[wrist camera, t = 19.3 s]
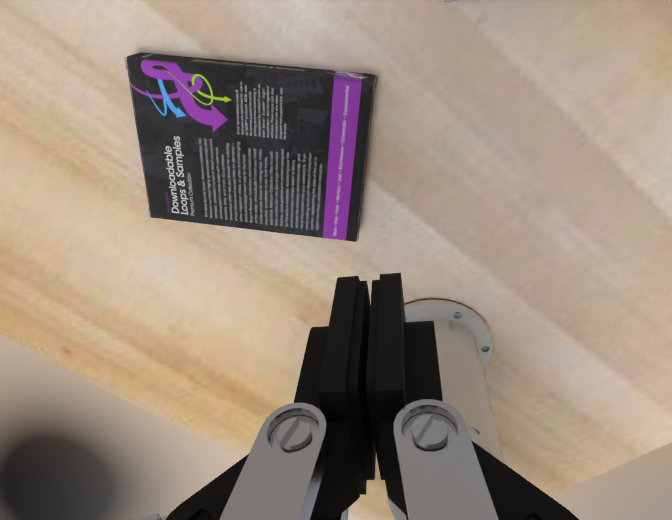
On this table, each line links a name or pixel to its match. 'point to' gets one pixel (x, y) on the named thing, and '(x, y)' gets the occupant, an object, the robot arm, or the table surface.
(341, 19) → the table surface
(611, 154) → the table surface
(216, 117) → the box
